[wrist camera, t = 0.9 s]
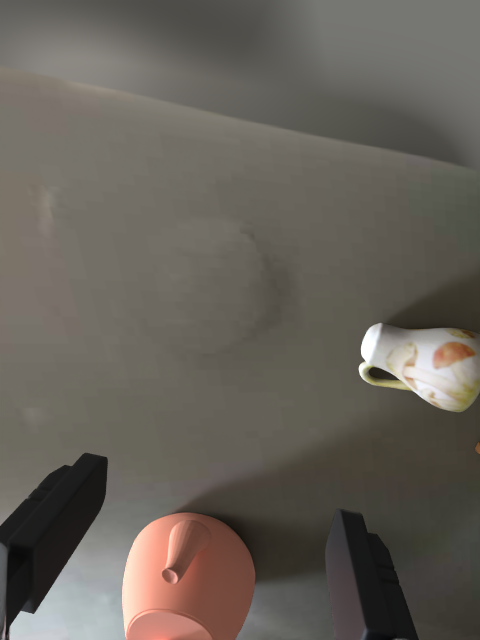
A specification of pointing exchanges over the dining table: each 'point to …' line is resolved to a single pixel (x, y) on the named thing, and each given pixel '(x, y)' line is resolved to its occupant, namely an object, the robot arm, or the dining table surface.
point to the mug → (426, 363)
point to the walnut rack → (478, 448)
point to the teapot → (187, 581)
